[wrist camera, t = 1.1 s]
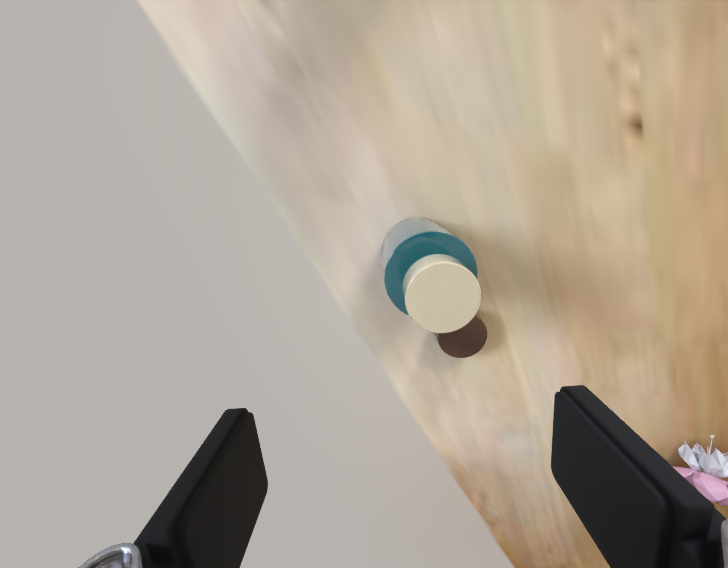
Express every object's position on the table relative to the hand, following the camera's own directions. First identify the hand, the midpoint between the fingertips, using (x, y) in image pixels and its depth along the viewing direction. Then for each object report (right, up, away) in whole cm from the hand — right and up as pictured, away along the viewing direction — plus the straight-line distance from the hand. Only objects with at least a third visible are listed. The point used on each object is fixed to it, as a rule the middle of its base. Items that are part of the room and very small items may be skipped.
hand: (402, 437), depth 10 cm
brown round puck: (+9, 0, +28) cm, 29 cm away
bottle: (+4, +8, +25) cm, 27 cm away
